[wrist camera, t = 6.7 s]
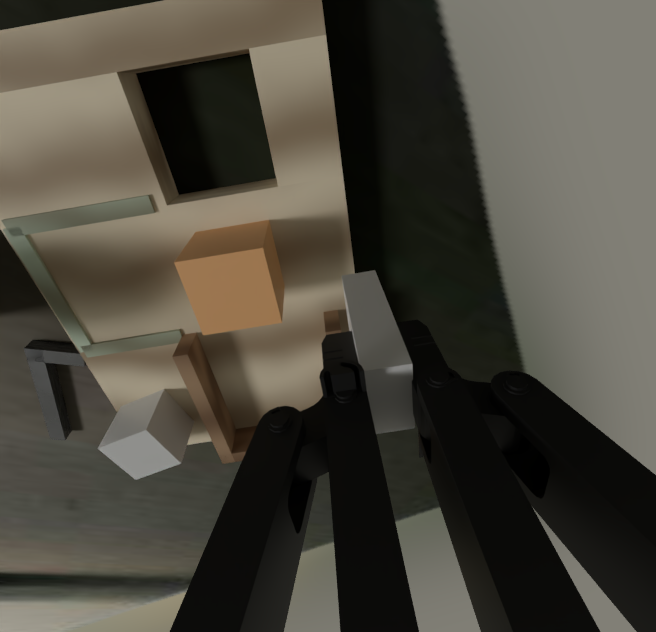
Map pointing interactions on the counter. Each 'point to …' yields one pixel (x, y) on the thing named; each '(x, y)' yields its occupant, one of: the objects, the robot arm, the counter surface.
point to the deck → (172, 195)
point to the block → (148, 435)
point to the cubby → (220, 394)
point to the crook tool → (52, 381)
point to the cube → (233, 277)
